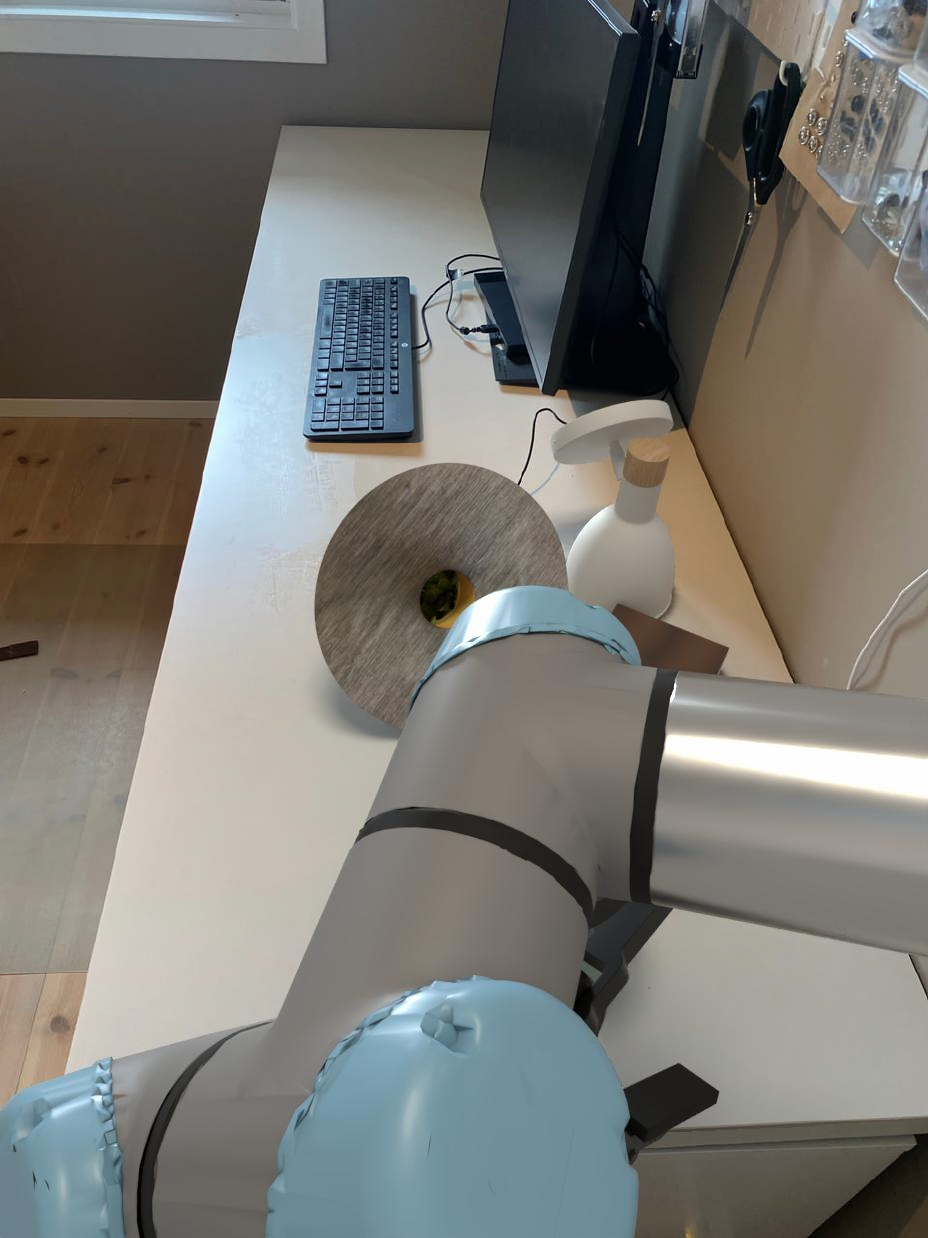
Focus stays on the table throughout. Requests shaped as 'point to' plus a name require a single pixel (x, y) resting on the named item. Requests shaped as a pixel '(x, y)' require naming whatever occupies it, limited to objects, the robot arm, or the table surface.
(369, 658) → the grey round piece
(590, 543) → the light fixture
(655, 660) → the wooden trinket box
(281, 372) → the table surface
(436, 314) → the table surface
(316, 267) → the table surface
